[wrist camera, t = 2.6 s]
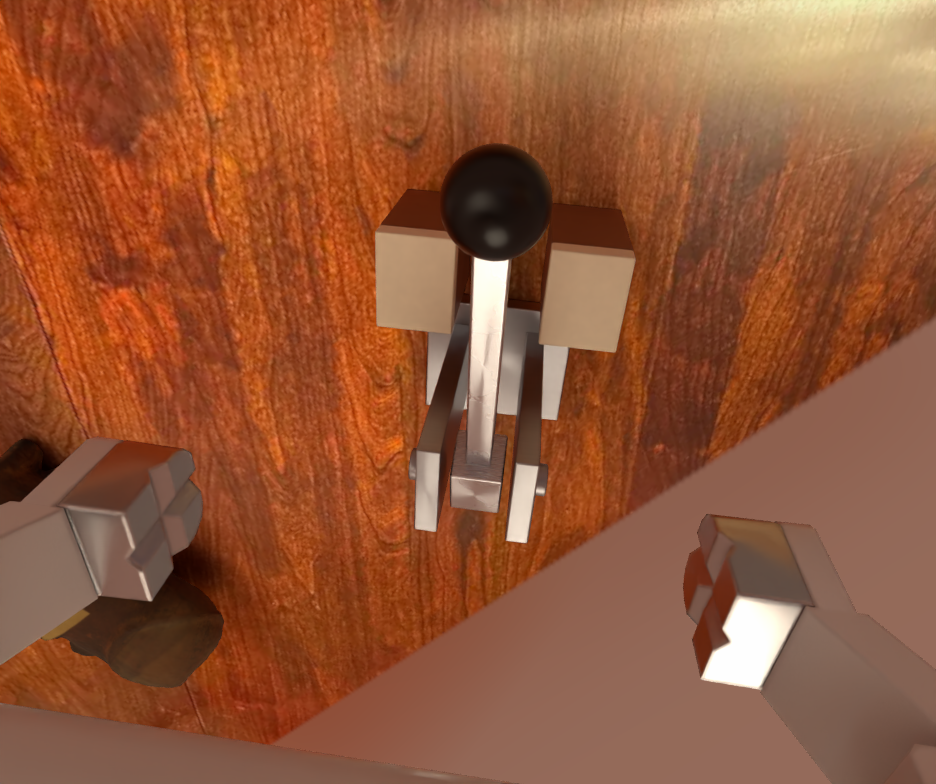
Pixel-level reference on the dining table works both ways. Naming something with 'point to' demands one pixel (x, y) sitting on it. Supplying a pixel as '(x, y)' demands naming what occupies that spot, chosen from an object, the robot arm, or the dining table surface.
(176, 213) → the dining table surface
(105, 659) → the dark brown bag
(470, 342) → the black ball knob lever
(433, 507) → the bracket
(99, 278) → the dining table surface
